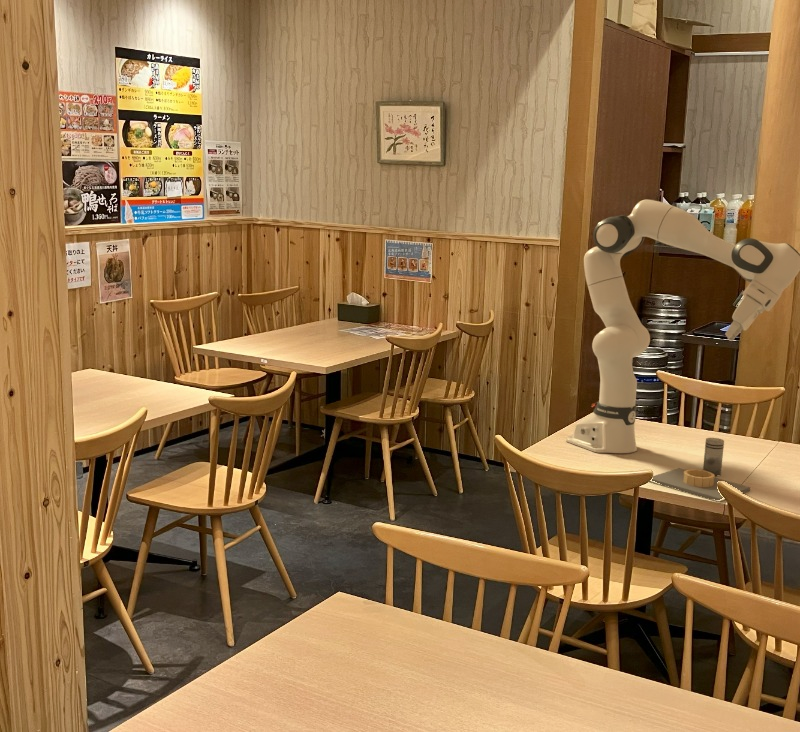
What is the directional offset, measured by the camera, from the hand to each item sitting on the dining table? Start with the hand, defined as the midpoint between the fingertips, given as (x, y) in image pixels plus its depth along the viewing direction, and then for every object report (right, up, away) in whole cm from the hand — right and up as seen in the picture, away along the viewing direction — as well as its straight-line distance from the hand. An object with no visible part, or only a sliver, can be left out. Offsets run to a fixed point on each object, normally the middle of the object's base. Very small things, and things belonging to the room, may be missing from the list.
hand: (728, 338), depth 272 cm
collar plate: (-10, -41, -6) cm, 43 cm away
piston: (-3, -39, +6) cm, 39 cm away
